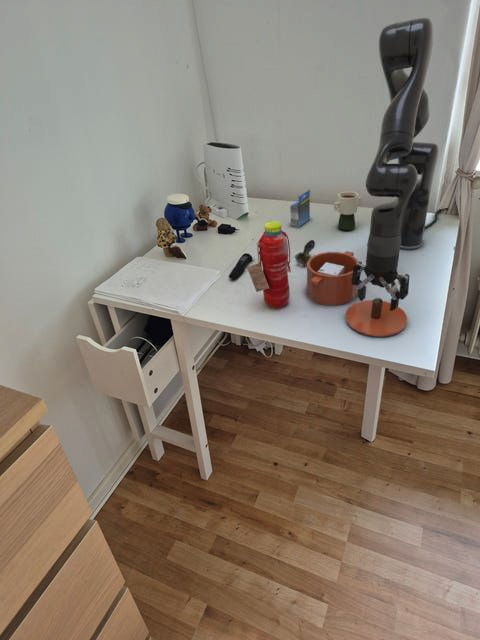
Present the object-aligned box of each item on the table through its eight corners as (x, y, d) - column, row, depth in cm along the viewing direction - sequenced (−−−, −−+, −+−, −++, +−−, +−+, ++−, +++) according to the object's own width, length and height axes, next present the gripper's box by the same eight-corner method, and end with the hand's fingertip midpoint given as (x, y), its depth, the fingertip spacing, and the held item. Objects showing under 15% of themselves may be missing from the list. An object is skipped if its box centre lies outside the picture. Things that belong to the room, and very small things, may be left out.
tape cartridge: (301, 217, 177) (301, 187, 169) (310, 219, 175) (310, 189, 167) (290, 226, 171) (289, 195, 164) (299, 228, 169) (298, 197, 162)
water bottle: (257, 316, 124) (250, 235, 109) (248, 302, 130) (241, 223, 116) (296, 306, 126) (295, 225, 112) (286, 292, 133) (283, 214, 118)
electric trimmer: (226, 281, 142) (225, 273, 140) (243, 258, 153) (242, 250, 151) (236, 283, 140) (235, 274, 138) (253, 259, 151) (252, 251, 150)
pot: (292, 300, 129) (291, 272, 124) (328, 270, 141) (328, 244, 135) (336, 315, 121) (337, 286, 115) (370, 283, 133) (372, 255, 127)
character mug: (354, 221, 169) (356, 188, 161) (364, 228, 163) (366, 194, 156) (328, 227, 167) (329, 194, 159) (337, 235, 161) (339, 200, 153)
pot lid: (334, 325, 118) (335, 305, 114) (362, 297, 127) (364, 279, 123) (390, 346, 109) (393, 326, 105) (416, 315, 118) (419, 295, 114)
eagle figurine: (321, 263, 143) (320, 246, 149) (310, 249, 139) (308, 232, 145) (302, 273, 147) (301, 256, 153) (290, 260, 143) (289, 243, 149)
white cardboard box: (344, 287, 131) (345, 265, 127) (336, 297, 127) (337, 275, 123) (325, 282, 134) (326, 261, 130) (316, 292, 130) (317, 271, 126)
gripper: (419, 249, 104) (409, 306, 113) (363, 236, 112) (359, 290, 121) (405, 262, 99) (396, 320, 109) (349, 247, 107) (345, 302, 117)
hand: (376, 304), depth 115 cm, fingers open, 8 cm apart
